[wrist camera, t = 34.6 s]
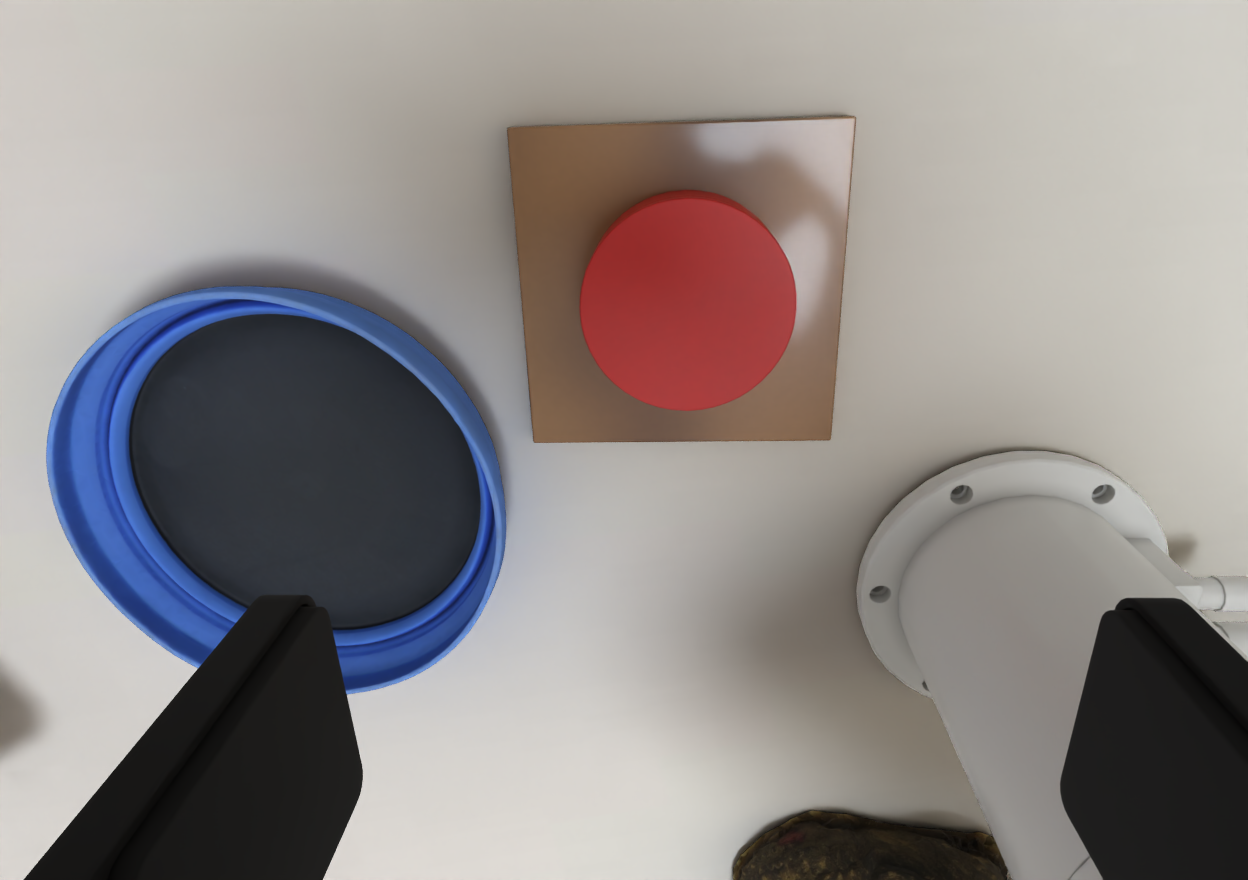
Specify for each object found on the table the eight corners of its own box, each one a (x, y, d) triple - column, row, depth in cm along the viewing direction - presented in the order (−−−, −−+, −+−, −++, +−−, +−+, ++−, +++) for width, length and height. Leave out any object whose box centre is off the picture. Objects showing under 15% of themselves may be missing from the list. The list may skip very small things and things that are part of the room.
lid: (589, 389, 31) (582, 412, 29) (578, 192, 28) (570, 200, 26) (782, 387, 31) (791, 410, 28) (792, 186, 28) (803, 194, 25)
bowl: (37, 492, 35) (-27, 532, 32) (232, 172, 29) (178, 181, 26) (370, 709, 39) (343, 764, 36) (602, 467, 33) (595, 507, 30)
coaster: (851, 115, 27) (856, 115, 27) (827, 433, 32) (831, 441, 31) (510, 127, 28) (506, 127, 27) (536, 435, 33) (533, 443, 32)
